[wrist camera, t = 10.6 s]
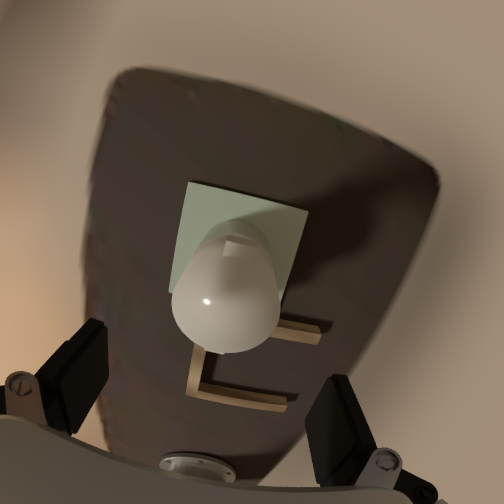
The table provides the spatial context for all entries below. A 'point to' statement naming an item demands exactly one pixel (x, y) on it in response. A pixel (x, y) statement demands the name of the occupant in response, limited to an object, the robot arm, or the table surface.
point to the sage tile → (242, 209)
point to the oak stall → (241, 397)
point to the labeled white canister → (228, 290)
